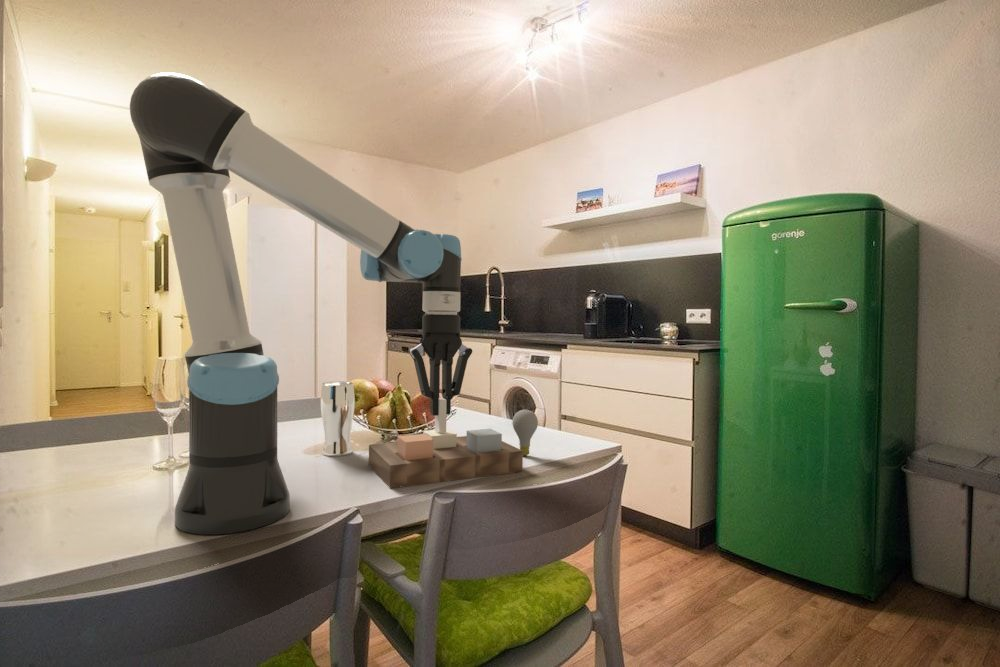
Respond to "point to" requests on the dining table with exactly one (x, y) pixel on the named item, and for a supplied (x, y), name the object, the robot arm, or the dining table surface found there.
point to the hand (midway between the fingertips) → (440, 431)
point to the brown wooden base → (442, 464)
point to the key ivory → (442, 438)
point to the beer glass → (337, 417)
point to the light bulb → (525, 428)
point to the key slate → (484, 440)
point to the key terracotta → (414, 447)
